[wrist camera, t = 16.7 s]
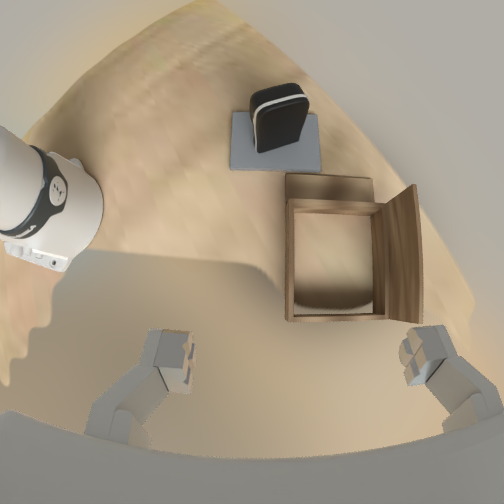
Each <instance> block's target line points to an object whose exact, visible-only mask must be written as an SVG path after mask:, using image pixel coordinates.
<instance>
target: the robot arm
mask: <svg viewBox="0 0 504 504" xmlns="http://www.w3.org/2000/svg"><path fill="white" fill-rule="evenodd" d="M102 213H103V198H102V193H101V190H100V187H99V185H98V184H97V182H96V181H95V180H94V179H93V178H92V177H91V176H90V175H89V174H87V173H86V172H85V170H84V168H83V165H82V163H81V161H80V160H78V159H76V158H72V159H70V160H67V159H65V158H64V157H62V156H60V155H58V154H57V153H55V152H49V153H46V152H45V151H43V150H42V149H39V148H37V147H35V146H32V145H28V144H26V143H25V142H24V141H22V140H21V139H19V138H18V137H16V136H15V135H14V134H13V133H11V132H10V131H8V130H7V129H6V128H4V127H2V126H0V240H3V241H4V246H5V250H6V252H7V253H8V254H10V255H12V256H15V257H18V258H20V259H23V260H26V261H29V262H31V263H34V264H37V265H40V266H43V267H46V268H48V269H51V270H54V271H57V272H61V273H62V272H64V271H65V270H66V269H67V268H68V266H69V265H70V263H71V261H72V259H73V258H74V257H75V256H76V255H77V254H79V253H80V252H81V251H82V250H84V249H85V248H86V247H87V246H88V245H89V243H90V242H91V241H92V239H93V238H94V236H95V234H96V232H97V230H98V228H99V225H100V222H101V219H102ZM55 261H56V264H54V263H55ZM192 341H193V335H192V331H181V330H169V329H159V328H158V329H157V328H150V330H149V331H148V334H147V337H146V341H145V345H144V348H143V351H142V355H141V358H140V362H139V365H134V366H133V367H132V368H131V369H130V370H129V371H128V372H126V373H125V374H124V375H123V376H122V377H121V378H120V379H119V380H118V381H116V382H115V383H114V384H113V385H112V386H111V387H110V388H109V389H108V390H107V391H105V392H104V393H103V394H102V395H101V396H100V397H99V398H98V399H97V400H95V401H94V402H93V404H92V407H91V411H90V414H89V418H88V421H87V425H86V429H85V432H84V434H81V433H78V432H75V431H71V430H68V429H65V428H62V427H58V426H55V425H52V424H49V423H47V422H44V421H41V420H38V419H35V418H33V417H30V416H28V415H25V414H23V413H20V412H18V411H15V410H11V409H9V410H5V411H3V412H2V413H0V504H504V407H503V404H502V401H501V399H500V396H499V393H498V390H497V388H496V386H495V385H494V384H493V383H491V382H490V381H489V380H488V379H487V378H486V377H485V376H483V375H482V374H481V373H480V372H479V371H478V370H477V369H475V368H474V367H473V366H472V365H471V364H470V363H468V362H467V361H466V360H465V359H464V358H463V357H461V356H458V355H457V352H456V350H455V348H454V346H453V343H452V341H451V339H450V336H449V334H448V332H447V330H446V328H445V326H444V325H436V326H423V327H414V328H411V329H409V330H408V332H407V338H406V339H404V340H403V341H402V343H401V345H400V349H399V358H400V362H401V364H403V365H404V366H405V367H406V368H405V371H404V375H405V378H406V382H407V385H408V386H413V385H420V384H425V385H426V387H427V388H428V389H429V390H430V391H431V392H432V393H433V395H434V396H435V397H436V398H437V399H438V400H439V402H440V403H441V404H442V405H443V406H444V407H445V409H446V410H447V411H448V412H449V413H450V414H451V415H450V416H448V417H447V418H446V419H445V420H444V421H443V423H442V426H443V430H444V433H443V434H439V435H436V436H432V437H429V438H425V439H420V440H416V441H412V442H408V443H403V444H398V445H393V446H389V447H383V448H377V449H371V450H365V451H358V452H352V453H343V454H334V455H324V456H313V457H298V458H297V457H296V458H230V457H213V456H201V455H191V454H181V453H173V452H166V451H160V450H153V449H150V448H151V442H152V437H151V436H150V435H149V434H148V432H147V431H146V430H145V429H144V428H143V427H142V425H143V424H144V422H145V421H146V420H147V419H148V418H149V417H150V415H151V414H152V413H153V412H154V411H155V410H156V408H157V407H158V406H159V405H160V404H161V402H162V401H163V400H164V399H165V398H166V396H167V395H168V394H169V392H172V393H187V394H191V391H192V384H193V375H192V372H191V371H192V370H194V368H195V363H196V348H195V344H194V343H192Z"/></svg>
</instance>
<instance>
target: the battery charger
mask: <svg viewBox="0 0 504 504" xmlns="http://www.w3.org/2000/svg"><path fill="white" fill-rule="evenodd" d="M308 110H309V100H308V98H307V96H306V95H305V94H304V92H303V91H302V89H301V88H300V86H299V85H297V84H296V83H287V84H282V85H278V86H274V87H270V88H267V89H263V90H260V91H257V92H256V93H254V94H253V95H252V97H251V99H250V119H251V121H252V123H253V131H254V137H253V142H254V146H255V149H256V151H257V152H258V153H259V154H260V153H264V152H267V151H270V150H273V149H276V148H279V147H283V146H286V145H289V144H292V143H295V142H298V141H299V139H300V135H301V131H302V128H303V126H304V123H305V120H306V117H307V114H308Z"/></svg>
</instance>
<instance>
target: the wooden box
mask: <svg viewBox="0 0 504 504" xmlns="http://www.w3.org/2000/svg"><path fill="white" fill-rule="evenodd" d="M285 189H286V277H285V320H287V321H288V322H326V321H327V322H328V321H361V320H383V319H392V320H398V321H404V322H410V323H417V324H422V323H423V253H422V236H421V223H420V213H419V203H418V195H417V187H416V184H412V185H411V186H409V187H408V188H406V189H405V190H404V191H402V192H401V193H400V194H398V195H397V196H396V197H394V198H393V199H391V200H390V201H389V202H387V203H386V204H385V203H374V192H373V181H372V179H363V178H351V177H336V176H320V175H300V174H285ZM294 213H322V214H346V215H366V216H371V230H372V254H373V313H361V314H319V315H318V314H317V315H316V314H315V315H312V314H311V315H294Z"/></svg>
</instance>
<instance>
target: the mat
mask: <svg viewBox="0 0 504 504" xmlns="http://www.w3.org/2000/svg"><path fill="white" fill-rule="evenodd" d="M253 137H254V131H253V123H252V121H251V119H250V112H233V118H232V136H231V155H230V170H261V171H294V172H315V173H320V171H321V159H320V144H319V131H318V119H317V115H313V114H307V117H306V120H305V123H304V126H303V128H302V131H301V135H300V139H299V141H298V142H295V143H292V144H289V145H286V146H283V147H279V148H276V149H273V150H270V151H267V152H264V153H260V154H259V153H258V152H257V151H256V149H255V146H254V142H253Z"/></svg>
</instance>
